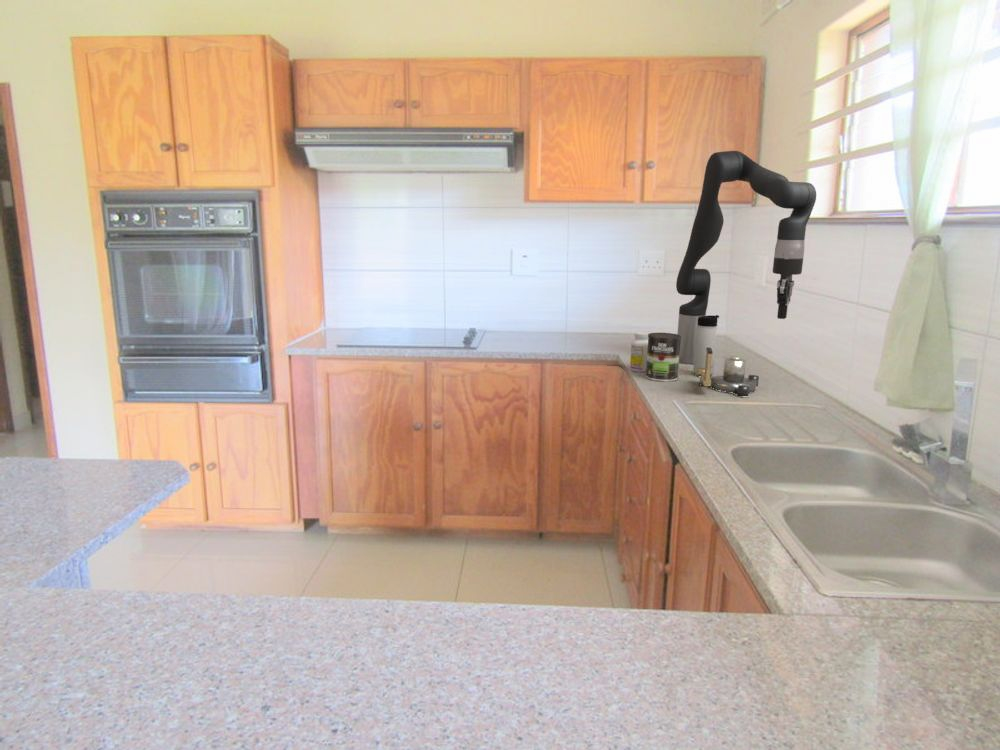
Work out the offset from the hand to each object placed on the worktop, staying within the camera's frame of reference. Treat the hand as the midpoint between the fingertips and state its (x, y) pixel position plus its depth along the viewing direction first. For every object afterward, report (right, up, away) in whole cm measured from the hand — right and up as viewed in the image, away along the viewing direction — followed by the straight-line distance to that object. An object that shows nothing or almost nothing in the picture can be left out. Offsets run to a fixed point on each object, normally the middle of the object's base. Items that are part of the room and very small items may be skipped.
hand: (781, 318), depth 188 cm
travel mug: (-13, -16, +31) cm, 37 cm away
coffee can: (-28, -17, +26) cm, 42 cm away
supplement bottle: (-33, -15, +36) cm, 51 cm away
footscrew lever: (-18, -18, +12) cm, 28 cm away
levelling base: (-11, -20, +15) cm, 27 cm away
